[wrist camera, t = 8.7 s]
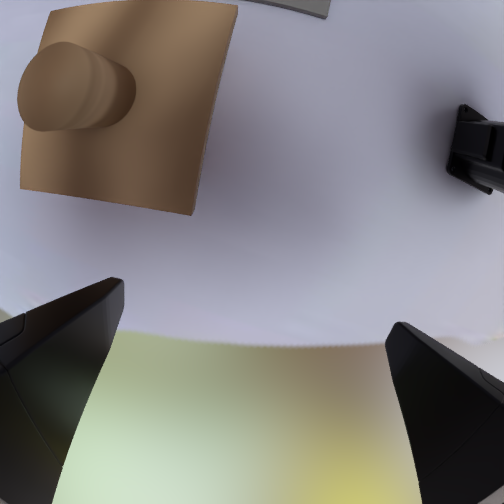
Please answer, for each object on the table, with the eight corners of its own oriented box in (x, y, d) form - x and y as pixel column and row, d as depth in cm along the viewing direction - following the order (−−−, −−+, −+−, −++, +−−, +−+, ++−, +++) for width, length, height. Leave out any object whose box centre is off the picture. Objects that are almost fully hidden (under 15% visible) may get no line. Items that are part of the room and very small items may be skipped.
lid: (237, 13, 11) (237, -46, 6) (194, 209, 16) (169, 257, 10) (60, 16, 10) (0, -11, 4) (31, 184, 14) (-36, 214, 8)
